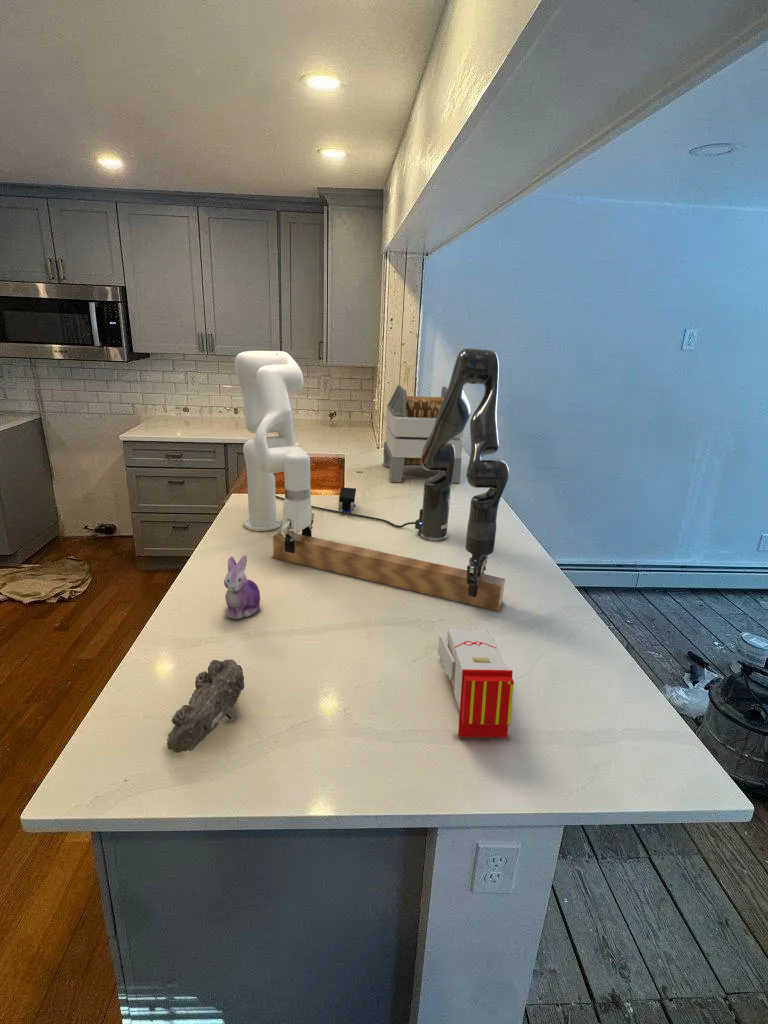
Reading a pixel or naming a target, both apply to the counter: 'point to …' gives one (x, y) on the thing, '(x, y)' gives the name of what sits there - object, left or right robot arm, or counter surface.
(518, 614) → the counter surface
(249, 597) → the figurine
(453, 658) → the toy
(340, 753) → the counter surface
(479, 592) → the post
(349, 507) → the figurine character
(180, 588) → the counter surface
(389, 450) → the grey storage crate
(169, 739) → the fossil
